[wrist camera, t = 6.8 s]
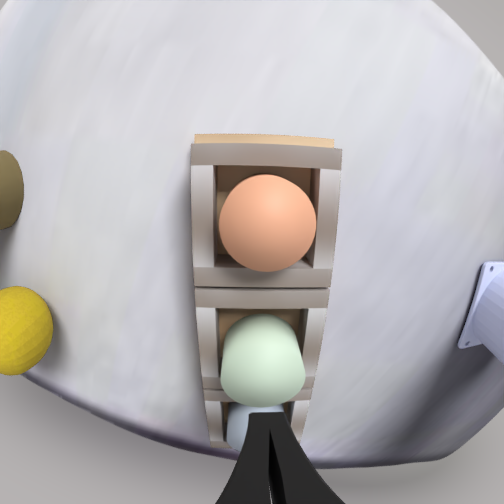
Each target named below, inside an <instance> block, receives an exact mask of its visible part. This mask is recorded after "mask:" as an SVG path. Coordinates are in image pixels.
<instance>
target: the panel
mask: <svg viewBox="0 0 504 504" xmlns="http://www.w3.org/2000/svg"><path fill="white" fill-rule="evenodd" d="M341 163H342V149H336V148H334V139H326V138H315V137H302V136H287V135H266V134H195V143H194V144H191V218H192V249H193V271H194V286H196V287H195V305H196V319H197V331H198V343H199V354H200V364H201V374H202V383H203V388H204V389H203V392H204V400H205V408H206V416H207V424H208V431H209V438H210V445H211V447H212V448H232V447H231V446H230V445H229V444H228V442H227V424H228V406H229V403H230V402H236V401H234V400H233V399H231V398H230V397H229V396H228V395H227V394H226V393H225V391H224V390H223V388H222V385H221V368H222V359H223V349H224V340H225V336H226V333H227V331H228V330H229V328H230V327H231V326H232V325H233V324H234V323H235V322H236V321H238V320H239V319H241V318H243V317H246V316H249V315H253V314H271V315H275V316H278V317H280V318H282V319H283V320H285V321H286V322H288V323H289V324H290V325H291V327H292V328H293V330H294V332H295V335H296V338H297V342H298V346H299V349H300V353H301V357H302V361H303V365H304V369H305V374H306V376H305V382H304V385H303V387H302V388H301V390H300V391H299V392H298V393H297V394H296V395H295V396H294V397H293V398H291V399H290V400H288V401H286V402H284V403H283V406H284V413H286V416H287V419H288V421H289V424H290V426H291V428H292V430H293V433H294V435H295V437H296V439H297V441H298V442H299V444H300V441H301V437H302V433H303V429H304V425H305V421H306V417H307V412H308V408H309V404H310V399H311V394H312V388H313V385H314V380H315V375H316V370H317V365H318V360H319V355H320V349H321V344H322V338H323V332H324V326H325V320H326V313H327V307H328V300H329V293H330V290H329V289H328V287H330V285H331V278H332V270H333V261H334V252H335V243H336V233H337V222H338V210H339V197H340V182H341ZM259 173H268V174H274V175H277V176H280V177H282V178H284V179H286V180H288V181H290V182H291V183H293V184H295V185H296V186H298V187H299V188H300V189H301V190H302V191H303V192H304V193H305V194H306V195H307V197H308V198H309V200H310V201H311V203H312V205H313V208H314V211H315V215H316V232H315V236H314V240H313V242H312V244H311V246H310V248H309V250H308V251H307V252H306V254H305V255H304V256H303V257H302V258H301V259H300V260H299V261H297V262H296V263H295V264H293V265H291V266H289V267H287V268H285V269H282V270H278V271H273V272H262V271H256V270H252V269H249V268H247V267H245V266H243V265H241V264H240V263H238V262H237V261H236V260H235V259H233V258H232V256H231V255H230V254H229V253H228V252H227V250H226V249H225V247H224V245H223V243H222V240H221V237H220V232H219V218H220V213H221V210H222V207H223V205H224V203H225V201H226V199H227V197H228V195H229V193H230V191H231V190H232V188H233V187H234V186H235V185H236V184H237V183H238V182H240V181H241V180H243V179H244V178H246V177H248V176H251V175H254V174H259Z"/></svg>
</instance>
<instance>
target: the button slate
mask: <svg viewBox="0 0 504 504" xmlns="http://www.w3.org/2000/svg"><path fill="white" fill-rule="evenodd" d="M251 412H284V406H283V403H282V404H279V405H276V406H272V407H262V408H261V407H250V406H246V405H243V404H240V403H238V402H230V403H229V406H228V424H227V442H228V444H229V445H230V446H231V447H232V448H233V449H235V450H237V451H239V452H241V449H242V446H243V443H244V440H245V436H246V432H247V427H248V418H249V414H250V413H251Z"/></svg>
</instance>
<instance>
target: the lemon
mask: <svg viewBox="0 0 504 504" xmlns="http://www.w3.org/2000/svg"><path fill="white" fill-rule="evenodd" d="M52 334H53V321H52V316H51V313H50V310H49V308H48V306H47V304H46V303H45V301H44V300H43V299H42V298H41V297H40V296H39V295H38V294H37V293H36V292H34V291H33V290H31V289H29V288H26V287H21V286H13V287H8V288H5V289H2V290H0V373H1V374H4V375H19V374H22V373H24V372H26V371H27V370H29V369H30V368H32V367H33V366H34V365H36V364H37V363H38V362H39V361H40V360H41V359H42V358H43V356H44V355H45V353H46V351H47V349H48V347H49V345H50V343H51V340H52Z"/></svg>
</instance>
